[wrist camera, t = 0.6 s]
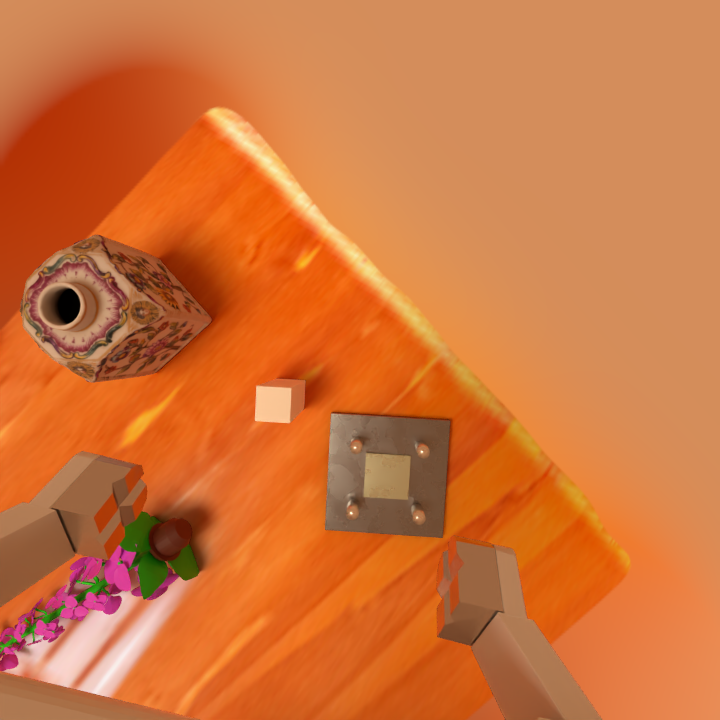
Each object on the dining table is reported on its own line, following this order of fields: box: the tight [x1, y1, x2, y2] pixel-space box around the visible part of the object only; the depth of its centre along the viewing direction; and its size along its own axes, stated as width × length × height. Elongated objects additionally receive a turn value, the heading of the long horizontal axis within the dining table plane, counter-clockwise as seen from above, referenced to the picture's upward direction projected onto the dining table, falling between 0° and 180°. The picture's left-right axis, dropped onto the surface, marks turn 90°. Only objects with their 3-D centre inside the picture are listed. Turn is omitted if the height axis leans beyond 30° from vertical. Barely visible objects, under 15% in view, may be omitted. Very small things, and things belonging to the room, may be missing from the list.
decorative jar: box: [20, 235, 212, 382], centre depth 49 cm, size 12×12×18 cm
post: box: [255, 378, 306, 423], centre depth 53 cm, size 4×4×10 cm
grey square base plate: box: [325, 412, 450, 538], centre depth 56 cm, size 16×16×4 cm
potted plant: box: [0, 511, 199, 671], centre depth 56 cm, size 12×16×35 cm
